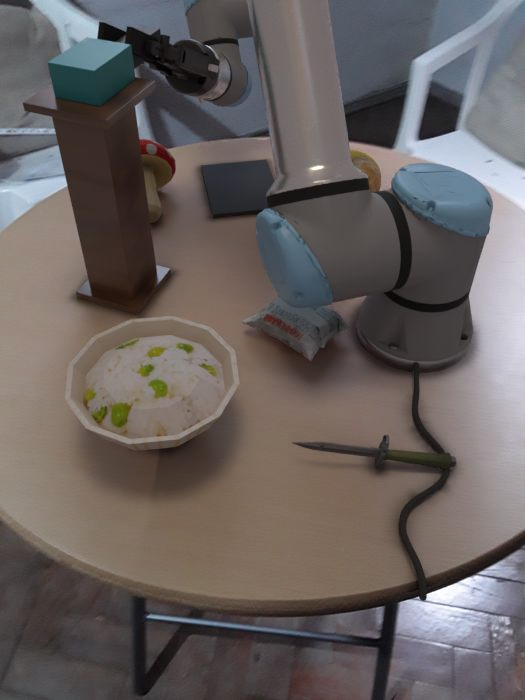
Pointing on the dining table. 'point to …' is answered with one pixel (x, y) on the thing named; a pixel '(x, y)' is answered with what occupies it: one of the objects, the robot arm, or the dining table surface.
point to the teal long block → (96, 69)
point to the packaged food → (298, 325)
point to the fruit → (367, 169)
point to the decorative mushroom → (156, 173)
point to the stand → (107, 194)
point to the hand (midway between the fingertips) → (114, 36)
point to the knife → (386, 453)
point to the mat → (237, 187)
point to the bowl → (152, 382)
